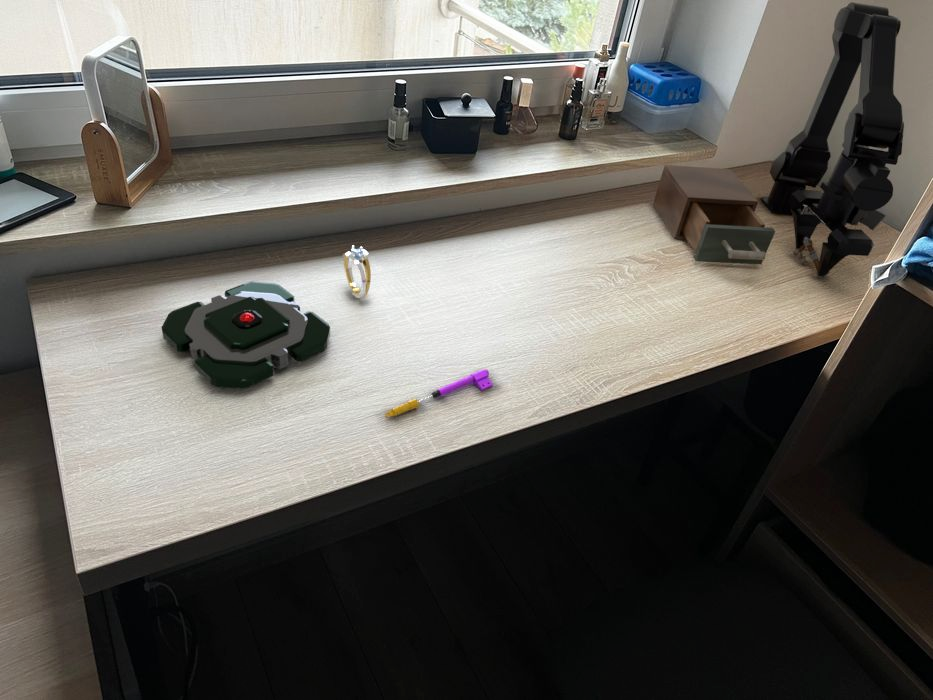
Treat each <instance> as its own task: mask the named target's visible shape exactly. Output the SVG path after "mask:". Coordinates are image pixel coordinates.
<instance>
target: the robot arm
mask: <svg viewBox="0 0 933 700" xmlns="http://www.w3.org/2000/svg"><path fill="white" fill-rule="evenodd" d="M901 23H902V21H901V20H900V17H897V16H894V15H891V14H890V11H889V8H888V7H886V6H880V5H872V4H866V3H859V2H853V1H851V2H850V3H848V4H847V6H844V7H842V8H840V9H839V11H838V12H837V14H836V17H835V20H834V23H833V28H834V29H833V33H832V35H831V39H832V44H833V51H834V54H833V57H832V59H831V62H830V64H829V67H828V69H827V71H826V74H825V76H824V78H823V81H822V84H821V86H820V89H819V91H818V93H817V96H816V98H815V101H814V103H813V106H812V108H811V110H810V113H809V115H808V118H807V120H806V122H805V125H804V128H803V129H802V131H801V132H799V133H798V134H796V135H795V136H794V137H793V138H792V139H791V140H789V141H788V144H787V146H786V148H785V149H784V151H783V152H782V153H780V154H779V155H777V157H776V158H775V159H774V160H773V161H772V163H771V166H770V170H769V174H770V176H771V178H772V181H773V185H772V188H771V190H770V192H769V195H768V196H761V197H760V200H761V202H762V203H763V204H764V205H765V206H766V207H767V208H768V210H769V211H770V212H771V213H773V214H777V215H778V214H779V215H780V214H781V215H792V220H793V226H794V227H793V228H794V240H795V251H796V250H797V249H799V248H800V247H801V246H802V245H804V242H803V241H804V238H805V237H808V239H811V238H812V236H813V234H814V232H815V230H816V228H817V227H818V225H820V224H821V223H822V224H823V226H825V227H827V228H828V229H829V231H830V232H829V234H828V236H827V241H822V244H821V250H820V257H819V266H818V276H824V275H825V274H827V273H828V272H829V271H830V272H831V270H832V269H833V268H834V267H836V266H837V265H838V264H839V263H840V262H841V261H842V260H844V259H845V258H846V257H848V256H861V257H863V256H864V257H868V256H869V255H870V253H871V251H872V250H873V248H874V246H875V243H874V242H873V240H872V238H871V237H870V236H869V235H867V233H865V232H864V231H863V230H862V229H859V228H848V227H847V224H849V225H850V226H858V224H859V223H860V224H861V225H864V226H866V227H868V229H869V230H871V231H875V229H876V228H877V226H878V225H879V224H880V223H881V222H882V221H883V220H884V219H885V218H886V217H887V214H886V213H885V212H884V211H882V210H881V208H883V207H885V206H886V205H887V204H888V203H889V202H890V201H891V199H892V198H893V195H894V193H893V192H894V185H893V183H892V181H891V180H890V178H889V176H890V173H891V170H890V168H889V167H887V166H886V165H893V166H897V164H898V161H899V157H900V156H901V155H902V153H903V142H904V131H905V130H904V129H905V123H904V119H903V118H904V117H903V116H904V115H903V105H902V103H901V102H900V100H899V99H898V98H897V97H896V95H895V92H894V90H895V89H894V88H895V87H894V85H895V69H896V68H895V67H896V49H897V37H898V35H899V34H900V30H901V25H902V24H901ZM859 68H860V72H859V73H860V74H859V86H858V87H859V88H858V99H857V104H856V105H855V106H854V107H853V108H852V109H851V110H850V112H849V113H848V118H847V119H846V122H845V125H844V131H843V132H844V133H843V134H844V135H843V142H842V144H841V146H842V149H843V150H842V151H841V153H840V155H839V157H838V160H837V162H836V163H835V165H834V169H833V171H832V173H831V175H830V177H829V179H828V182H827V181H822V182H821V180H822V179H823V177H824V176H825V174H826V173H827V171H828V169H829V161H830V159H831V157H832V156H831V151H830V148H829V143H828V140H829V136H830V134H831V132H832V130H833V128H834V125H835V122H836V121H837V118H838V116H839V114H840V111H841V109H842V106H843V104H844V102H845V100H846V97H847V95H848V93H849V92H850V91H849V90H850V88H851V85H852V84H853V82H854V79H855V77H856V75H857V73H858V70H859ZM874 148H875V149H874ZM876 148H877V149H876ZM886 149H887V150H886ZM820 183H821V184H820ZM819 184H820V187H819V188H820V189H821V190H816V188H817V186H818V185H819ZM807 187H811V188H813V189H807ZM814 189H815V190H814ZM822 191H823V192H822ZM828 274H829V273H828ZM828 274H827V275H828Z"/></svg>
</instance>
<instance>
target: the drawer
mask: <svg viewBox="0 0 933 700" xmlns="http://www.w3.org/2000/svg"><path fill="white" fill-rule="evenodd" d="M681 232H682V233H683V235H684V236H685V238H686V239H687V240H686V241H687V242H688V244H689V245H690V247H691V248H692V250H693V251H694V255H693V260H694V261H695V262H699V263H719V264H720V263H721V264H739V265H740V264H743V265H762V264H763V262H764V260H765V258H766V254H767V252H768V250H769V247H770V245H771V243H772V241H773V238H774V236H775V234H776V230H775V229H774V227H766V224H765V222H764V221H763V220H762V219H761V218H760V217H759V216H758V214H757V213H756V211H755V212H754V211H753V210H752V209H751V207H750V206H749V205H743V204H726V203H710V202H693V201H691V202H690V205H689V208H688V211H687V214H686V217H685V220H684V223H683V226H682V229H681Z"/></svg>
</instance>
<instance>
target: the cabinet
mask: <svg viewBox="0 0 933 700" xmlns="http://www.w3.org/2000/svg"><path fill="white" fill-rule="evenodd" d="M691 201H693V202H710V203H726V204H743V205H749V206H750V207H751V209H752V210H753V211H754V212H755V213H756V209H757V207H758V204H759V200H758V199H757V198H756V196H755V195H754V194H753V193H752V192H751V191H750V190H749V189H748V187H747V186H746V185H745V184H744V183H743V182H742V181H741V180H740V178H739V177H738V176H737V174H735V173H734V171H733V170H732V169H730V168H720V167H719V168H718V167H705V166H689V165H673V164H664V166H663V169H662V173H661V177H660V180H659V183H658V186H657V190H656V193H655V196H654V200H653V203H652V206H653V207H654V209H655V211H656V212H657V214H658V215H659V217H660V219H661V220H662V222H663V224H664V225H665V226H666V228H667V230H668V232H669V233H670V234H671V236H672V238H673V239H674V240H686V241H687V239H686V238H685V236H684V235H683V233H682V232H681V229H682V226H683V223H684V220H685V217H686V214H687V211H688V208H689V205H690V202H691Z"/></svg>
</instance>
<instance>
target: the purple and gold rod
mask: <svg viewBox="0 0 933 700" xmlns="http://www.w3.org/2000/svg"><path fill="white" fill-rule="evenodd" d="M489 374H490V372H489V370H488V369H481V370H478V371H476V372H474V373H471V374H469V376H466V377H464V378H461V379H459V380H457V381H454V382H452V383H449V384H447V385H445V386H442V387H440V388H437V389H436V390H434V391H433V392H431V395H429V396H427V397H424V398H422V399H420V400H418V399H417V398H412V399H410V400H407V401H406V402H405V403H403V404H400V405H398V406H395V407H393V408H391V409H390V410H388V411H387V412H385V413H384V415H385V417H387V419H389V418H391V417H396V416H398V415H401V414H403V413H405V412H408V411H413V410H414V409H417V408H419V407H420V403H422V402H424V401H426V400H428V399H431V398H433V399H437V398H440V397H443V396H446V395H448V394H450V393H452V392H454V391H457V390H459V389H461V388H464V387H466V386H468V385H469V386H470V385H471V384H472V385H473V386H477V387H478V389H479V390H480V391H481V392H482V391H485V390H488V389H490V388H492V387H493V385H494V384H493V382H492V381H491V380H490V379H489Z"/></svg>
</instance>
